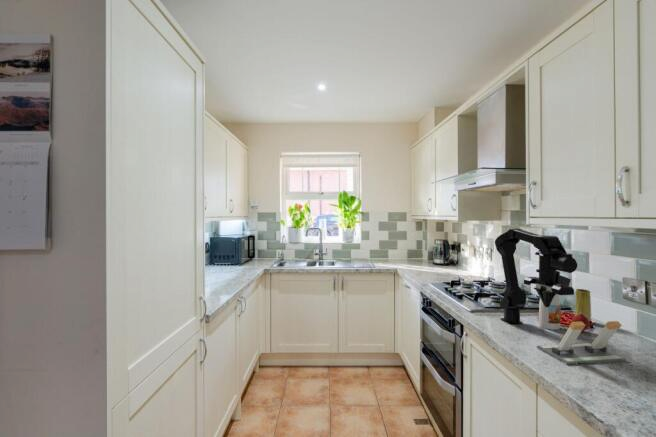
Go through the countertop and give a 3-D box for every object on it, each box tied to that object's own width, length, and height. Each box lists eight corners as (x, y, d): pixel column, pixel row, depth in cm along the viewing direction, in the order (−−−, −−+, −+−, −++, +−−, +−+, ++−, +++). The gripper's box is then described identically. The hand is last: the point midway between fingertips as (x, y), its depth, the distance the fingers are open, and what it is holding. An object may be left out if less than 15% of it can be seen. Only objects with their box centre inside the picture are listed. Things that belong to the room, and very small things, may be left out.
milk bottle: (540, 328, 137) (540, 282, 136) (537, 322, 144) (538, 279, 143) (561, 331, 133) (562, 284, 133) (558, 325, 140) (559, 280, 140)
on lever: (588, 347, 114) (607, 321, 107) (597, 346, 115) (617, 321, 107) (591, 351, 113) (611, 325, 106) (601, 350, 113) (621, 325, 106)
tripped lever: (555, 349, 113) (571, 321, 106) (565, 348, 113) (581, 321, 106) (558, 353, 111) (575, 325, 105) (568, 352, 112) (585, 325, 105)
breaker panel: (536, 347, 118) (536, 341, 118) (589, 344, 120) (590, 338, 120) (566, 364, 105) (567, 357, 105) (625, 361, 107) (625, 354, 107)
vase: (577, 322, 144) (578, 291, 144) (571, 318, 150) (572, 288, 149) (593, 324, 142) (594, 292, 142) (586, 319, 148) (587, 289, 148)
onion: (582, 329, 136) (583, 310, 136) (592, 334, 131) (593, 315, 130) (568, 328, 137) (569, 310, 137) (577, 333, 131) (578, 314, 131)
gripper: (588, 272, 116) (587, 314, 117) (547, 263, 135) (546, 299, 135) (560, 272, 115) (559, 315, 115) (523, 263, 133) (522, 300, 134)
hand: (546, 307), depth 125 cm, fingers closed
